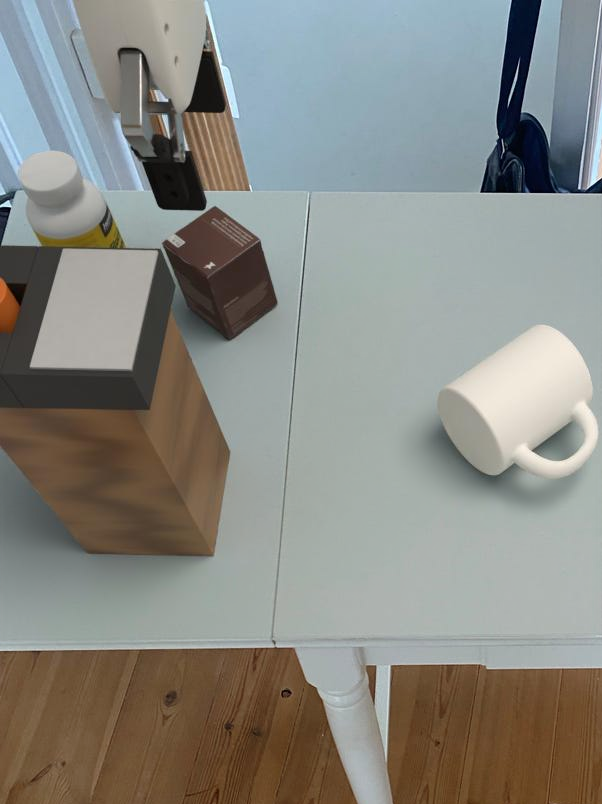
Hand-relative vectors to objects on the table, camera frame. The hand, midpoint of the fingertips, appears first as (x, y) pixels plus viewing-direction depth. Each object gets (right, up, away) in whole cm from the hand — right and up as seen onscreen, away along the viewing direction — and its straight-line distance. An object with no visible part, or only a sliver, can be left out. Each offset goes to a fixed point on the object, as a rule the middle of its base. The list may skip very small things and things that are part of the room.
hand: (194, 157), depth 61 cm
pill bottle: (-15, -1, +20) cm, 25 cm away
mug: (+24, -17, +13) cm, 32 cm away
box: (-3, -3, +19) cm, 20 cm away
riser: (-6, -22, +11) cm, 25 cm away
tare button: (-10, -14, -7) cm, 19 cm away
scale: (-6, -15, -6) cm, 17 cm away
